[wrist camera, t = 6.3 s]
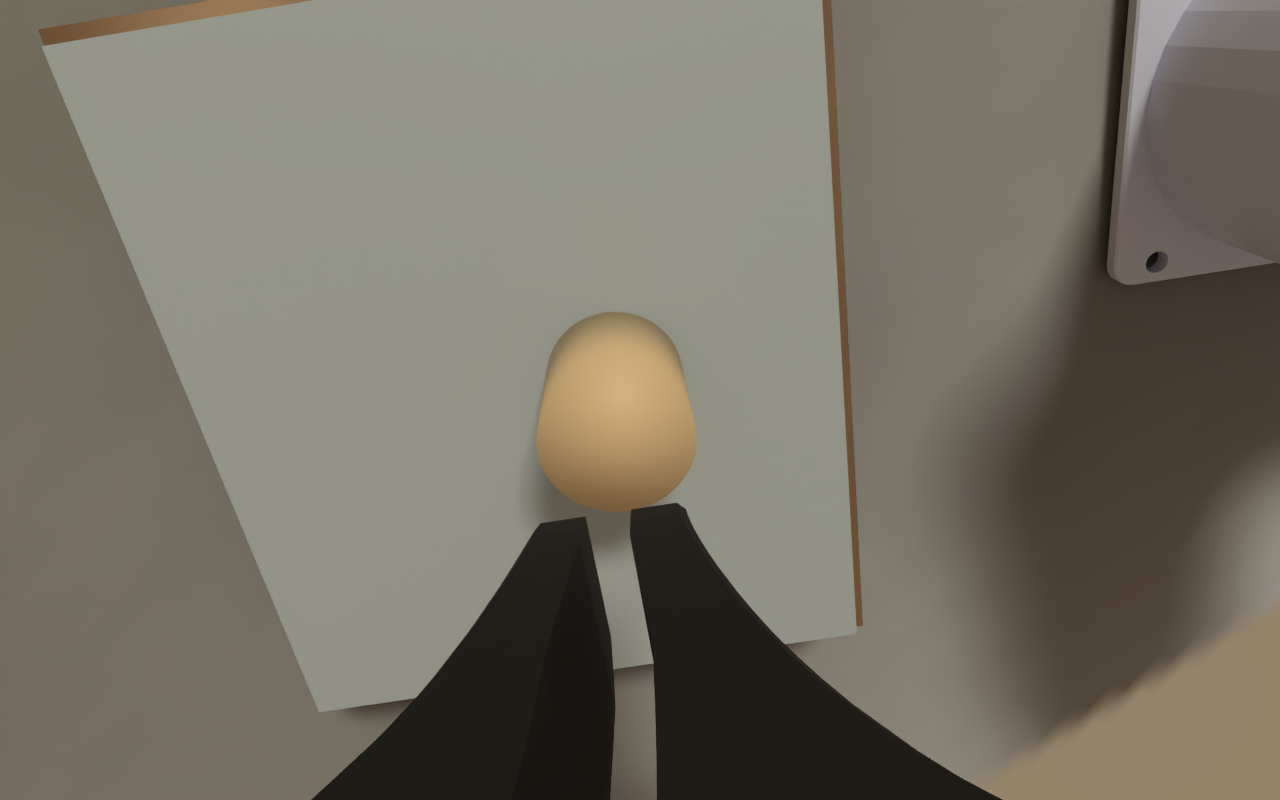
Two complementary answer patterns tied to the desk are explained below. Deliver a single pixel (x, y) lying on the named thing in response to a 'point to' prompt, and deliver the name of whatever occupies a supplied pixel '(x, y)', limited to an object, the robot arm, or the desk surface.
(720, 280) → the lid
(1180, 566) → the desk surface
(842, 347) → the wooden tray
